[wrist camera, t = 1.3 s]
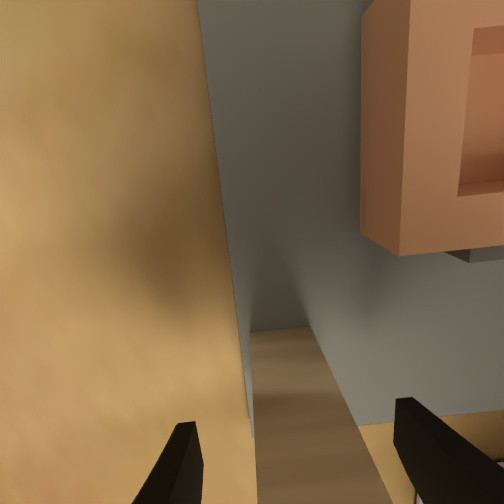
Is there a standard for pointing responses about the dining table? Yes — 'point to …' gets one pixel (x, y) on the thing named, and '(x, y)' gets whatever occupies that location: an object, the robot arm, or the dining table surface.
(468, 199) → the terracotta square frame
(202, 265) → the dining table surface
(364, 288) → the slate board
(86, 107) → the dining table surface
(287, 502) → the tan rectangular block
